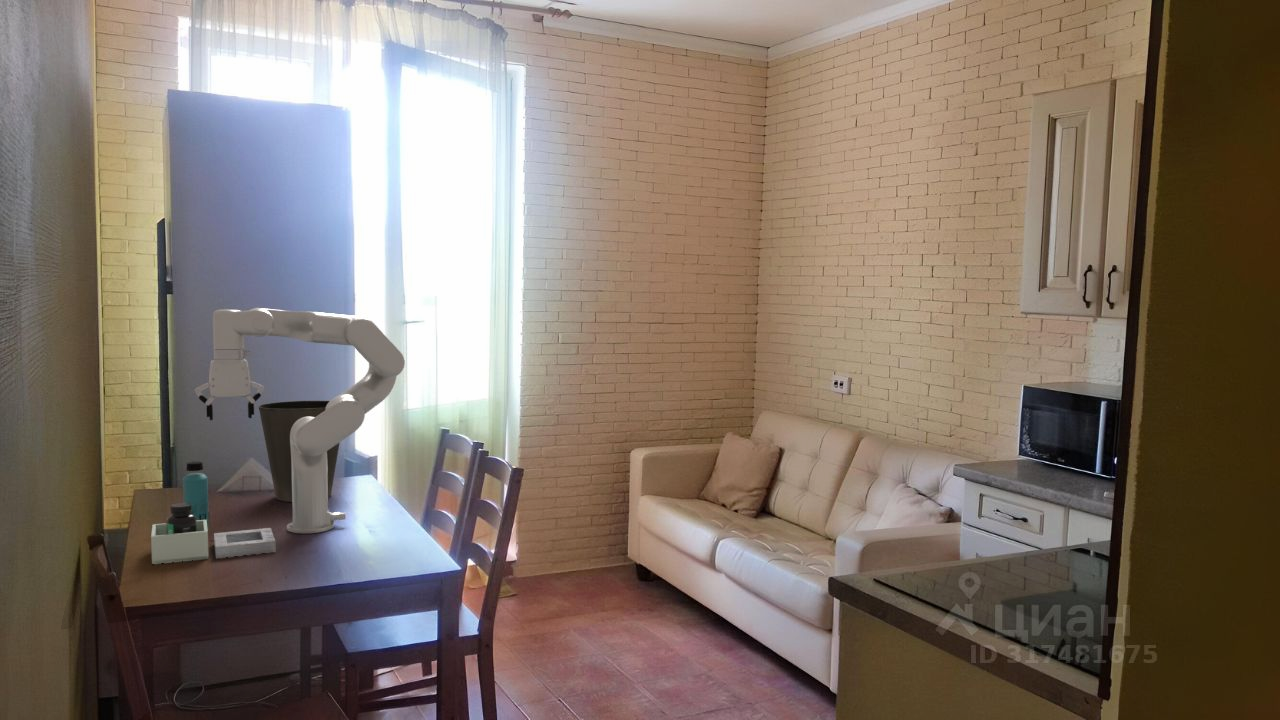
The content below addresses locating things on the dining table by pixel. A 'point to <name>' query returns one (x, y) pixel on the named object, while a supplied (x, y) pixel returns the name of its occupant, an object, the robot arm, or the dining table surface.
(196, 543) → the bin
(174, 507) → the supplement bottle
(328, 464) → the waste basket
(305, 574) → the dining table surface
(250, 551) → the socket block
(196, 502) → the beverage bottle
